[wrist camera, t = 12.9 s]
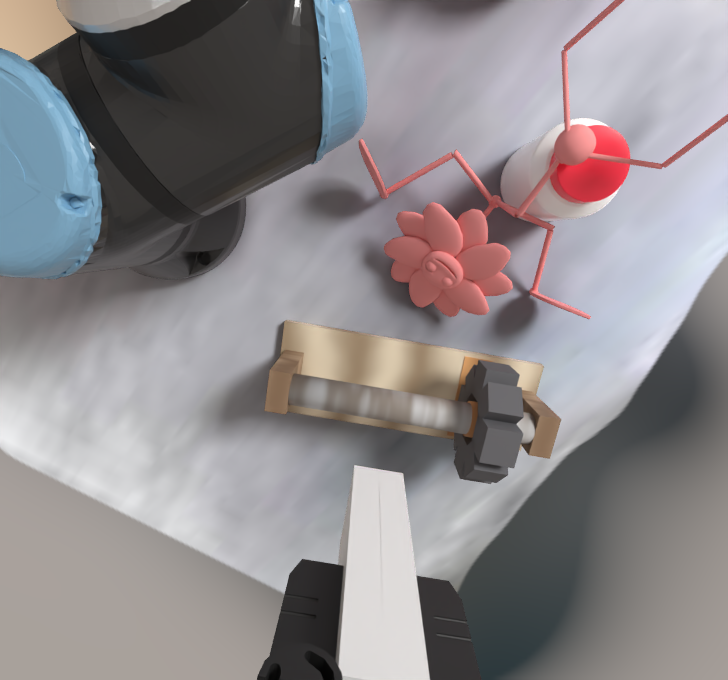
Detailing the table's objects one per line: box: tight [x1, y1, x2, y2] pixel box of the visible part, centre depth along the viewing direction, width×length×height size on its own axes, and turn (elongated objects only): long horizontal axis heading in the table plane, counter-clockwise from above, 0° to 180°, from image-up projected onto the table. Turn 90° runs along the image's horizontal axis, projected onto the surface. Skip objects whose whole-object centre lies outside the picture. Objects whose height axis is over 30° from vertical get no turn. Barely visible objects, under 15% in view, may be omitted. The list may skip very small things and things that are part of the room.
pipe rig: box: [264, 320, 561, 459], centre depth 44 cm, size 28×10×9 cm, turn 80°
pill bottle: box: [500, 118, 630, 222], centre depth 38 cm, size 8×8×11 cm
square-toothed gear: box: [454, 360, 524, 484], centre depth 42 cm, size 3×11×11 cm, turn 170°
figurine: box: [359, 0, 728, 319], centre depth 32 cm, size 15×26×35 cm
